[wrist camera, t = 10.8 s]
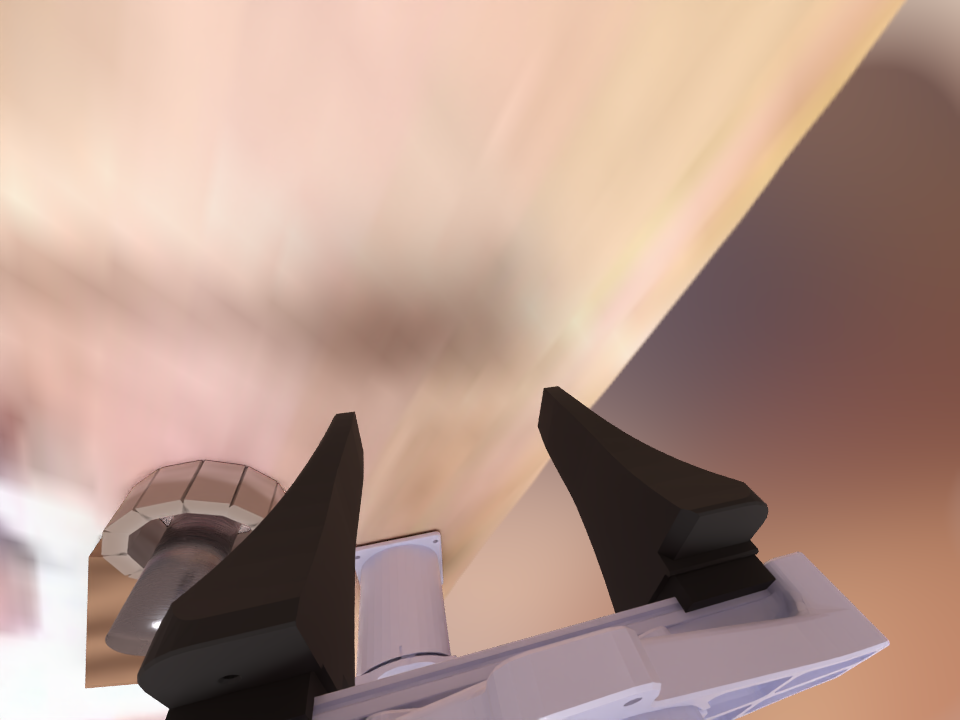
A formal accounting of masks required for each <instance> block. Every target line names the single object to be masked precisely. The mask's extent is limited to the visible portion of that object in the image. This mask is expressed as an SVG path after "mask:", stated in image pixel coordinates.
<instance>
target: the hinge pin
mask: <svg viewBox="0 0 960 720" xmlns="http://www.w3.org/2000/svg"><path fill="white" fill-rule="evenodd" d="M240 526H241V523H239V522H237V521H234V520H232V519H230V518H227V517H225V516H221V515H208V514H196V513H183V514H178V515H174V516H173V518H172V520H171V522H170V524H169V525H168V527H167V529H166V531H165V532H164V534H163V536H162V538H161V540H160V541H159V543H158V545H157V547H156V548H155V550H154V552H153V554H152V555H151V557H150V559H149V561H148V563H147V564H146V566H145V568H144V570H143V571H142V573H141V575H140V577H139V579H138V580H137V582H136V584H135V586H134V587H133V589H132V591H131V593H130V594H129V596H128V598H127V600H126V602H125V603H124V605H123V607H122V609H121V610H120V612H119V614H118V616H117V617H116V619H115V621H114V623H113V625H112V626H111V628H110V630H109V632H108V633H107V635H106V637H105V642H106V644H107V646H108V647H110V648H111V649H113V650H115V651H117V652H120V653H123V654H128V655H135V656H146V654H147V651H148V649H149V647H150V645H151V642H152V640H153V638H154V636H155V633H156V631H157V629H158V627H159V625H160V623H161V621H162V620H163V618H164V616H165V615H166V613H167V611H168V609H169V607H170V605H171V604H172V603H173V602H174V601H175V600H176V599H178V598H179V597H180V596H181V595H183V594H184V593H185V592H186V591H187V590H189V589H190V588H191V587H192V586H193V585H195V584H196V583H197V582H198V581H199V580H201V579H202V578H203V577H204V576H205V575H207V574H208V573H209V572H210V571H211V570H212V569H213V568H215V567H216V566H217V565H218V564H219V563H220V562H221V561H222V560H223V559H224V558H225V557H226V556H227V555H229V554H230V553H231V550H232V547H233V545H234V542H235V539H236V537H237V534H238V532H239V529H240Z"/></svg>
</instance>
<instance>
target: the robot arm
mask: <svg viewBox="0 0 960 720" xmlns="http://www.w3.org/2000/svg"><path fill="white" fill-rule="evenodd" d="M538 428H539V431H540V434H541V437H542V439H543V442H544V445H545V447H546V449H547V451H548V453H549V455H550V457H551V459H552V461H553V463H554V465H555V467H556V468H557V470H558V472H559V474H560V476H561V478H562V480H563V481H564V483H565V485H566V487H567V489H568V491H569V492H570V494H571V496H572V498H573V500H574V502H575V504H576V506H577V509H578V511H579V514H580V516H581V519H582V521H583V523H584V526H585V528H586V531H587V533H588V536H589V539H590V541H591V544H592V546H593V549H594V551H595V554H596V557H597V560H598V563H599V565H600V568H601V571H602V574H603V577H604V580H605V583H606V586H607V589H608V592H609V595H610V598H611V601H612V604H613V607H614V610H615V614H612V615H608V616H604V617H601V618H597V619H594V620H590V621H586V622H583V623H579V624H576V625H572V626H568V627H565V628H562V629H558V630H554V631H551V632H547V633H543V634H540V635H536V636H533V637H529V638H525V639H522V640H518V641H515V642H511V643H507V644H504V645H500V646H497V647H493V648H490V649H486V650H482V651H479V652H475V653H472V654H468V655H464V656H461V657H456V655H453V656H451V653H450V645H449V638H448V630H447V623H446V615H445V608H444V600H443V593H442V584H443V568H442V550H441V535H440V532H437V531H436V532H430V533H425V534H420V535H415V536H410V537H405V538H400V539H395V540H390V541H385V542H380V543H375V544H370V545H366V546H361V547H356V537H357V529H358V521H359V512H360V504H361V496H362V487H363V473H364V461H363V448H362V443H361V438H360V434H359V429H358V424H357V420H356V415H355V412H349V413H341V414H336V415H335V416H334V418H333V420H332V422H331V424H330V426H329V428H328V430H327V432H326V433H325V435H324V437H323V439H322V440H321V442H320V444H319V446H318V447H317V449H316V450H315V452H314V454H313V455H312V457H311V458H310V460H309V461H308V463H307V464H306V466H305V467H304V469H303V470H302V472H301V473H300V474H299V476H298V477H297V479H296V480H295V482H294V483H293V484H292V486H291V487H290V488H289V489H288V491H287V492H286V493H285V495H284V496H283V497H282V498H281V500H280V501H279V502H278V503H277V504H276V506H275V507H274V508H273V509H272V510H271V511H270V512H269V514H268V515H267V516H266V517H265V518H264V519H263V520H262V521H261V522H260V524H259V525H258V526H257V527H256V528H255V529H254V530H253V531H252V532H251V533H250V534H249V535H248V536H247V537H246V538H245V539H244V540H243V541H242V542H241V543H240V544H239V545H238V546H237V547H236V548H235V549H234V550H233V551H232V552H231V553H230V554H229V555H227V556H226V557H225V558H224V559H223V560H222V561H221V562H220V563H219V564H218V565H217V566H216V567H215V568H213V569H212V570H211V571H210V572H209V573H208V574H207V575H205V576H204V577H203V578H202V579H201V580H199V581H198V582H197V583H196V584H195V585H193V586H192V587H191V588H190V589H189V590H187V591H186V592H185V593H184V594H183V595H181V596H180V597H179V598H178V599H176V600H175V601H174V602H173V603H172V604H171V605H170V607H169V609H168V611H167V613H166V615H165V616H164V618H163V620H162V621H161V623H160V625H159V627H158V629H157V631H156V633H155V636H154V638H153V640H152V642H151V645H150V647H149V649H148V651H147V654H146V656H145V658H144V660H143V663H142V665H141V667H140V669H139V672H138V674H137V683H138V684H139V686H140V687H141V688H142V689H143V690H144V691H145V692H146V693H147V694H149V695H150V696H152V697H153V698H155V699H156V700H158V701H159V702H160V703H162V704H163V705H165V706H166V707H168V708H169V711H168V714H167V717H166V719H165V720H735V719H737V718H739V717H742V716H744V715H746V714H749V713H751V712H753V711H756V710H758V709H760V708H763V707H765V706H767V705H770V704H772V703H775V702H777V701H779V700H782V699H784V698H786V697H789V696H791V695H794V694H796V693H799V692H801V691H804V690H806V689H809V688H811V687H814V686H817V685H819V684H822V683H824V682H827V681H830V680H832V679H835V678H837V677H839V676H840V675H842V674H843V673H845V672H847V671H848V670H850V669H852V668H853V667H855V666H856V665H858V664H860V663H861V662H863V661H864V660H866V659H868V658H869V657H871V656H873V655H874V654H876V653H878V652H879V651H881V650H882V649H884V648H886V647H887V646H889V645H890V643H889V640H888V639H887V638H886V637H885V636H884V635H883V634H882V633H881V632H880V631H879V630H878V629H877V628H876V627H875V626H874V625H873V624H872V623H871V622H870V621H869V620H868V619H867V618H866V617H865V616H864V615H863V614H862V613H861V612H860V611H859V610H858V609H857V608H856V607H855V606H854V605H853V604H852V603H851V602H850V601H849V600H848V599H847V598H846V597H845V596H844V595H843V594H842V593H841V592H840V591H839V590H838V589H837V588H836V587H835V586H834V585H833V584H832V583H831V582H830V581H829V580H828V579H827V578H826V577H825V576H824V575H823V574H822V573H821V572H820V571H819V569H818V568H817V567H815V566H814V564H813V563H811V562H810V560H809V559H808V558H807V557H806V556H805V555H804V554H803V553H801V552H795V553H791V554H787V555H784V556H780V557H776V558H773V559H771V560H768V561H767V562H765V563H764V564H762V562H761V561H760V560H759V559H758V558H757V557H756V556H755V554H757V553H758V552H759V551H758V548H756V546H755V545H754V544H753V543H752V542H751V541H750V539H751V538H752V537H753V535H754V534H755V533H756V532H757V530H758V529H759V528H760V527H761V525H762V524H763V523H764V521H765V519H766V518H767V514H768V507H767V504H766V503H764V502H763V501H762V500H761V499H760V498H759V497H758V496H757V495H756V494H755V493H754V492H753V491H752V490H751V489H750V488H749V487H748V486H747V485H746V484H745V483H744V482H741V481H738V480H735V479H731V478H728V477H725V476H722V475H718V474H715V473H712V472H709V471H707V470H704V469H701V468H698V467H696V466H693V465H691V464H688V463H686V462H683V461H681V460H678V459H676V458H674V457H672V456H669V455H667V454H665V453H663V452H661V451H658V450H656V449H654V448H652V447H650V446H648V445H646V444H644V443H642V442H641V441H639V440H637V439H635V438H633V437H632V436H630V435H628V434H626V433H625V432H623V431H621V430H620V429H618V428H617V427H615V426H614V425H612V424H610V423H609V422H607V421H606V420H604V419H603V418H601V417H600V416H598V415H597V414H596V413H594V412H593V411H591V410H590V409H589V408H587V407H586V406H584V405H583V404H582V403H580V402H579V401H578V400H576V399H575V398H574V397H572V396H571V395H570V394H568V393H567V392H565V391H564V390H563V389H561V388H560V387H558V386H557V387H549V388H544V390H543V396H542V403H541V409H540V415H539V422H538ZM355 571H356V574H357V577H358V580H359V584H360V606H359V628H358V651H357V674H356V677H355V649H354V606H355Z"/></svg>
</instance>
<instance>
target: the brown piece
mask: <svg viewBox="0 0 960 720" xmlns="http://www.w3.org/2000/svg"><path fill="white" fill-rule="evenodd" d="M244 468H245V466H244V465H237V464H229V463H222V462H214V461H207V460H205V461H204V463H203V462H202V461H201V460H200V461H195V462H190V463H184V464H179V465H174V466H168V467H163V468H161V469H160V470H159V469H158V470H156V471H155V472H153V473H152V474H151V475H149V476H148V477H147V478H145V479H144V480H143V481H141V482H140V483H138V484H137V485H136V486H134V487H133V488H132V490H131V491H130V493H129V494H128V496H127V497H126V499H125V500H124V501H123V503H122V504H121V506H120V507H119V509H118V510H117V512H116V513H115V515H114V516H113V517H112V519H111V520H110V522H109V523H108V525H107V526H106V528H105V529H104V531H103V533H102V538H101V540H100V541H99V543H98V544H97V545H96V547H95V548H94V550H93V551H92V553H91V554H90V556H89V566H88V603H87V641H86V679H85V688H94V687H106V686H117V685H129V684H138V683H137V674H138V672H139V669H140V667H141V665H142V663H143V660H144V658H145V656H135V655H128V654H123V653H120V652H117V651H115V650H113V649H111V648H110V647H108V646H107V644H106V642H105V637H106V635H107V633H108V632H109V630H110V628H111V626H112V625H113V623H114V621H115V619H116V617H117V616H118V614H119V612H120V610H121V609H122V607H123V605H124V603H125V602H126V600H127V598H128V596H129V594H130V593H131V591H132V589H133V587H134V586H135V584H136V582H137V580H138V579H139V577H140V575H141V573H142V571H143V570H144V568H145V566H146V564H147V563H148V561H149V559H150V557H151V555H152V554H153V552H154V550H155V548H156V547H157V545H158V543H159V541H160V540H161V538H162V536H163V534H164V532H165V531H166V529H167V526H166V525H165V524H164V523H163V522H162V521H161V520H160V519H159V518H163V517H168V516H173V515H178V514H183V513H196V514H208V515H221V516H225V517H227V518H230V519H232V520H234V521H237V522H239V523H241V524H244V525H246V526H249V527H250V528H251V530H250V531H249V532H245V533H241V534H237V537H236V539H235V542H234V545H233V547H232V550H231V552H232V551H233V550H234V549H235V548H236V547H237V546H238V545H239V544H240V543H241V542H242V541H243V540H244V539H245V538H246V537H247V536H248V535H249V534H250V533H251V532H252V531H253V530H254V529H255V528H256V527H257V526H258V525H259V524H260V522H261V521H262V520H263V519H264V518H265V517H266V516H267V515H268V514H269V512H270V511H271V510H272V509H273V508H274V507H275V506H276V504H277V503H278V502H279V501H280V500H281V498H282V497H283V496H284V495H285V494H284V492H283V490H282V488H281V486H280V485H279V483H278V484H276V483H277V481H275V480H273V479H271V478H269V477H267V476H265V475H263V474H262V473H260V472H258V471H256V470H254V469H252V468H250V467H247V468H246V469H244Z"/></svg>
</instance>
